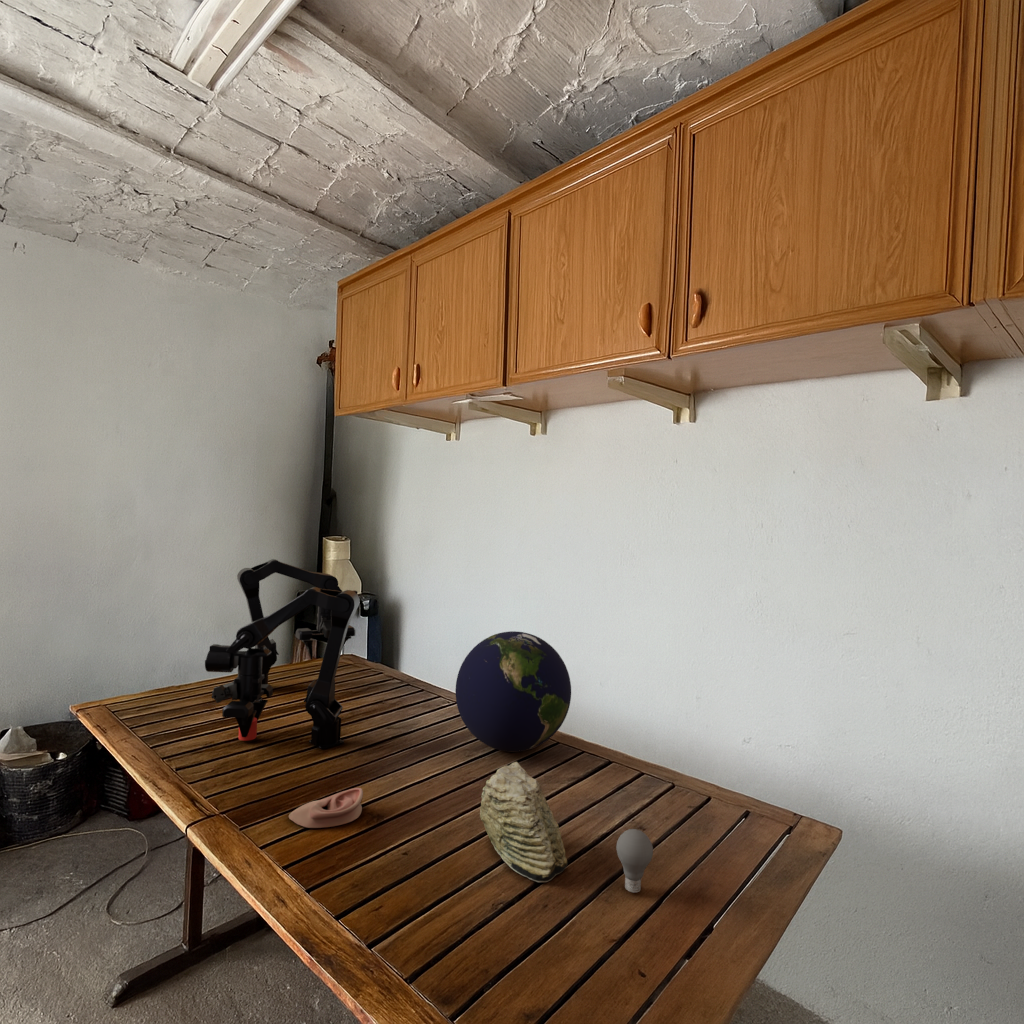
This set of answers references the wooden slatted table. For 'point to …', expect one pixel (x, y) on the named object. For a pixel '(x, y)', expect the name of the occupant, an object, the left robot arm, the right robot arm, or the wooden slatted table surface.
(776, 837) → the wooden slatted table surface
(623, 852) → the light bulb
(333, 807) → the anatomical model
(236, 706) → the right robot arm
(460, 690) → the globe
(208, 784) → the wooden slatted table surface
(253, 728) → the canister
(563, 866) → the fossil
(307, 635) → the left robot arm
